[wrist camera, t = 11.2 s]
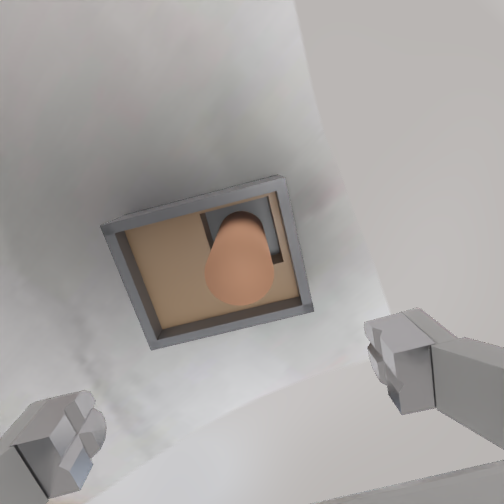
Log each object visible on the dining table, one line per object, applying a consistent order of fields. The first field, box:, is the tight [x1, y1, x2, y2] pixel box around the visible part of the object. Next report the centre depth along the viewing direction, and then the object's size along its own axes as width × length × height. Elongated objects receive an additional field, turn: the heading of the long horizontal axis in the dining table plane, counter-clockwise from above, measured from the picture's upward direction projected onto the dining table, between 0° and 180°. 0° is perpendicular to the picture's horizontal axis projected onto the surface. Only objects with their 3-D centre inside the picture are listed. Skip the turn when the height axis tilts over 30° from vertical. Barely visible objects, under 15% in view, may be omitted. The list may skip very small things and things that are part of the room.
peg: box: [204, 211, 274, 306], centre depth 22 cm, size 4×4×10 cm
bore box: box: [100, 175, 314, 350], centre depth 26 cm, size 14×11×5 cm
